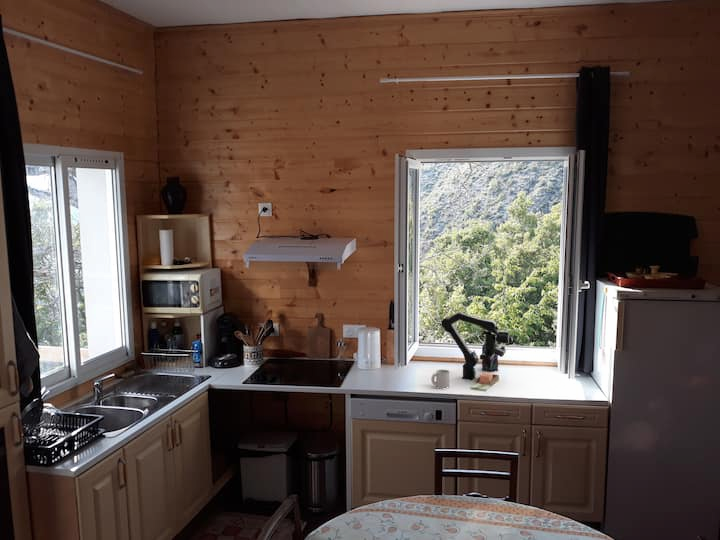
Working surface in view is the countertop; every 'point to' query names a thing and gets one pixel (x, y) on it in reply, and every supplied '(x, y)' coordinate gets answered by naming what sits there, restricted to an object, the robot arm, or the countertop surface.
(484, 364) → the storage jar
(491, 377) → the block
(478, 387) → the wooden tray
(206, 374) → the countertop surface
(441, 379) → the cup
